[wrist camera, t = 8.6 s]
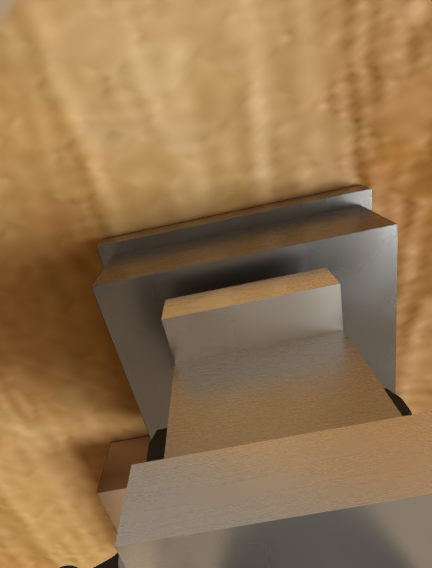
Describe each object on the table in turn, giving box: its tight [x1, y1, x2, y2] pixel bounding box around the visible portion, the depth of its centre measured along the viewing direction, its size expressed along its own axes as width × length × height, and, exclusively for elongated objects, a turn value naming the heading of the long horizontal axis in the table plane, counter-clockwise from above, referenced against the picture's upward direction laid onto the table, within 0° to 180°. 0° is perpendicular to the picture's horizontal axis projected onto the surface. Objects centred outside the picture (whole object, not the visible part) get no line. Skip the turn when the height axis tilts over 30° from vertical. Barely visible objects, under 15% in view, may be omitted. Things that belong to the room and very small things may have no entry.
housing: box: [115, 268, 432, 568], centre depth 9 cm, size 9×5×7 cm, turn 12°
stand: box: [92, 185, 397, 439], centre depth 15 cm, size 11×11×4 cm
